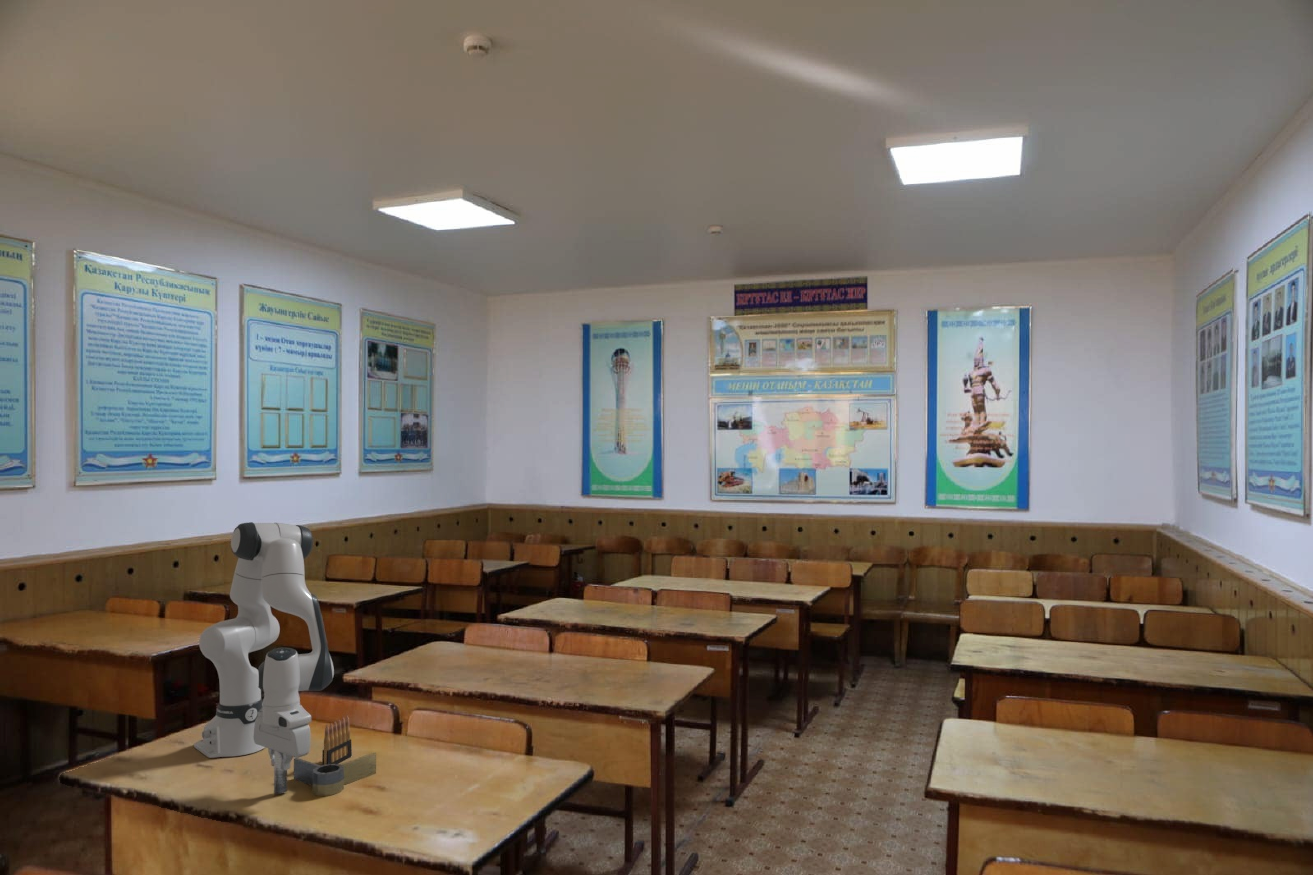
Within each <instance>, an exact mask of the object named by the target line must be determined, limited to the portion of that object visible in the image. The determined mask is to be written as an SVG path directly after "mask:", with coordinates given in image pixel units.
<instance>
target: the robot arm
mask: <svg viewBox="0 0 1313 875" xmlns="http://www.w3.org/2000/svg"><path fill="white" fill-rule="evenodd" d="M313 537H314V536H313V533H312V531H311V530H310V528H308V527H307V526H303V525H300V524H296V525H293V524H289V523H283V522H242V523H239V524H237V526H236V527H235V528H234V529H233V533H232V535H231V539H230V548H231V552H232V553H233V555H234V556H235V557H236V558H238V559H237V562H236V566H235V568H234V573H233V577H232V582H231V587H230V591H229V598H230V600H231V601H232V602H233V603H234V604H235V605H237V610H238V611H237V615H236V617H234V618H232V619H226V620H221V621H218V622H216V623H214V624H212V625H211V626H208V627H206V628H205V629H204V630H203V631H202V632H201V634H200V637H199V642H198V643H199V644H198V645H199V646H198V647H199V649H200V651H201V654H202V655H203V656H204V657H205V658H206V659H208V660H209V661H211V662H212V663H213V665H214V667H215V669H216V671H217V675H218V679H219V702H217V703H215V705H216V706H215V707H216V712H215V716H214V717H213V718H212V719H211V720H209V721H208V722H207V723H206V724H205V725H204V727H203V730H202V731H201V736H202V737H201V738H202V739H200V740H198V741H196V742H195V743H194V744H193V748H194V749H196V750H197V751H198V752H200V753H202V754H203V755H204V756H205V757H207V758H208V759H215V758H220V757H221V758H224V757H225V758H228V757H239V756H245V755H249V754H254V753H257V752H259V751H261V750H263V749H265V748H267V750H268V754H269V758H270V765H271V766H272V767H274V750H275V751H278V752H281V753H283V757H284V760H283V762H281V769H283V770H287V771H288V770H290V769H291V762H292V760H293V759H294V758H299V759H300V758H301V757H305V756H307V755H308V754H309V752H310V751H311V739H312V738H311V736H312V735H311V728H310V725H309V724H310V723H311V722H312V715H311V714H310V713H309V712H308V711H307V710H306V709H305V708H304V707H303V705H302V704H301V701H300V700H301V698H300V694H299V692H305V691H308V692H309V691H316V692H318V691H319V692H320V691H323V690H325V688H327V687H328V686H329V685H330V684H331V683H332V682H333V680H334V679H333V678H334V675H335V669H334V662H333V660H332V656H331V654H330V651H329V646H328V640H327V636H326V631H325V625H324V621H323V615H322V612H321V611H322V610H321V606H320V603H319V600H318V597H317V595H316V594H313V593H311V592H310V591H309V589H308V587H307V585H306V580H305V579H306V578H305V577H306V576H305V575H306V572H305V562H304V560H305V559H306V558H308V557H309V555H310V554H311V552H312V550H313V546H314V545H313V544H314V538H313ZM272 608H273V609H275V610H277V611H279V612H283V613H286V614H289V615H290V614H291V615H293V616H296V617H299V618H301V619H302V620H303V621H305V623H306V625H307V627H308V628H307V629H308V632H309V639H310V644H311V649H312V650H311V652H309V653H308V652H307V653H300V654H299V653H298V651H297V650H296V649H294V648H291V647H278V648H273V649H271V650H269V651H268V652H267V653H266V655H265V660H264V661H262V663H261V664H260V665H259V666H258V667H254V666H252V665H251V663H250V660H249V654H250V653H252V652H256V651H259V650H263V649H265V648H266V647H268V646H270V645H271V644H273V643H275V642H276V641H277V639H278V638H279V635H280V630H281V628H280V623H279V621H278V619H277V618H276V616H275V615H273V613H272ZM257 668H258V669H257ZM262 692H263V693H264V694H263V695H264V696H263V698H262Z"/></svg>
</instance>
